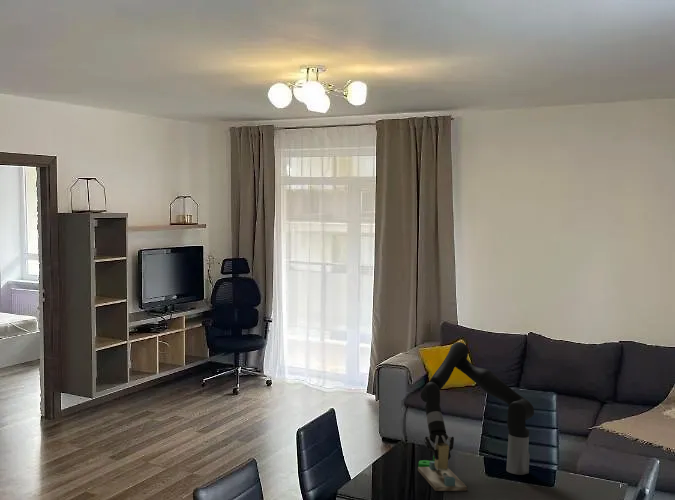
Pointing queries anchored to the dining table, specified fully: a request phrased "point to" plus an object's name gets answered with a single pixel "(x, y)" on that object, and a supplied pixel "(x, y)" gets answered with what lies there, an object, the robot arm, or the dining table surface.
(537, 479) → the dining table surface
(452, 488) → the board
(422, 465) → the mechanical part
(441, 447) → the tan square-topped block
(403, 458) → the dining table surface
